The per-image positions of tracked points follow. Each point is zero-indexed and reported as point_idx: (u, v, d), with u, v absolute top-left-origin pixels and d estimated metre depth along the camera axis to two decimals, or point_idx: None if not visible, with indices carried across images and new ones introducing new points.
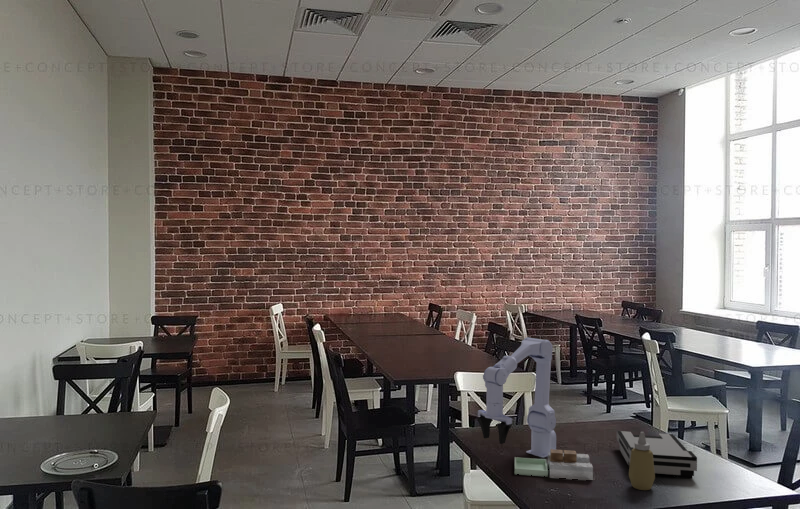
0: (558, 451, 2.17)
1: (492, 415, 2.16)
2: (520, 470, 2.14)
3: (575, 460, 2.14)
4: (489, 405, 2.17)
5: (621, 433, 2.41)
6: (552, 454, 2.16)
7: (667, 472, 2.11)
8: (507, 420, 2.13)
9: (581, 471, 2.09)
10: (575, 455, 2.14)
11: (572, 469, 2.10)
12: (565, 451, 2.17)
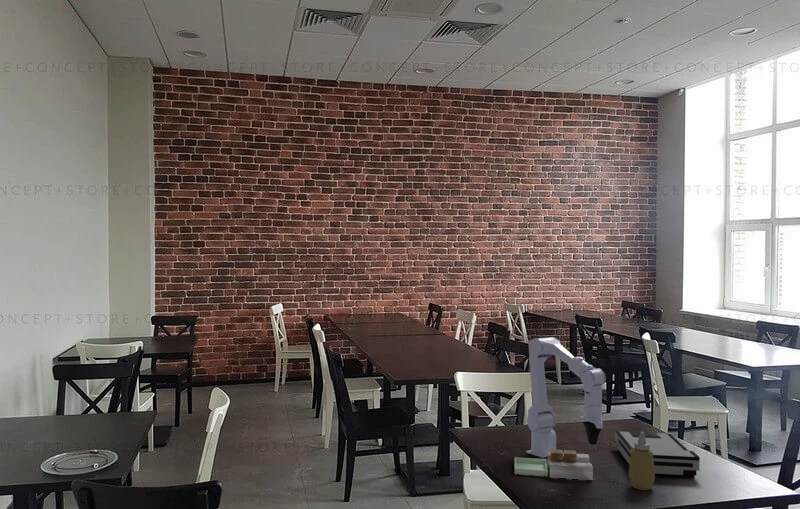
0: (558, 451, 2.17)
1: (586, 417, 2.14)
2: (520, 470, 2.14)
3: (575, 460, 2.14)
4: (585, 406, 2.15)
5: (620, 433, 2.41)
6: (552, 454, 2.16)
7: (670, 472, 2.11)
8: (596, 424, 2.08)
9: (581, 471, 2.09)
10: (575, 455, 2.14)
11: (572, 469, 2.10)
12: (565, 451, 2.17)
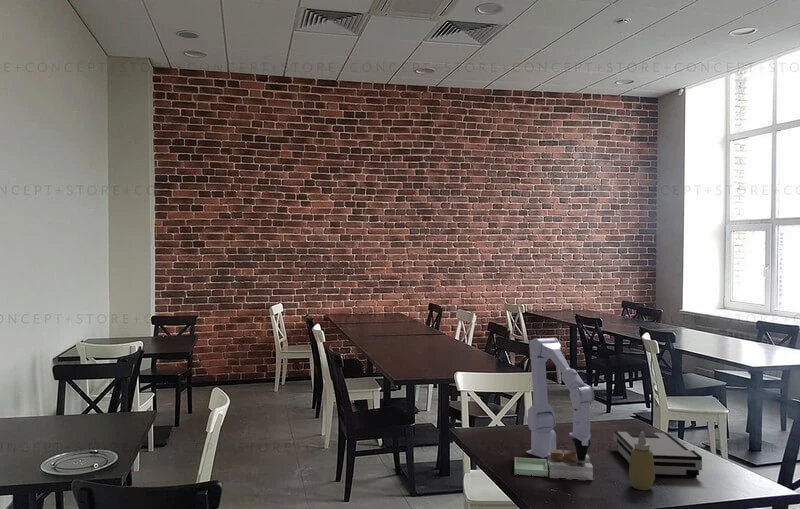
0: (558, 451, 2.17)
1: (574, 433, 2.15)
2: (520, 470, 2.14)
3: (575, 460, 2.14)
4: (573, 423, 2.16)
5: (618, 434, 2.40)
6: (552, 454, 2.16)
7: (673, 472, 2.11)
8: (582, 441, 2.09)
9: (581, 471, 2.09)
10: (575, 455, 2.14)
11: (572, 469, 2.10)
12: (565, 451, 2.17)
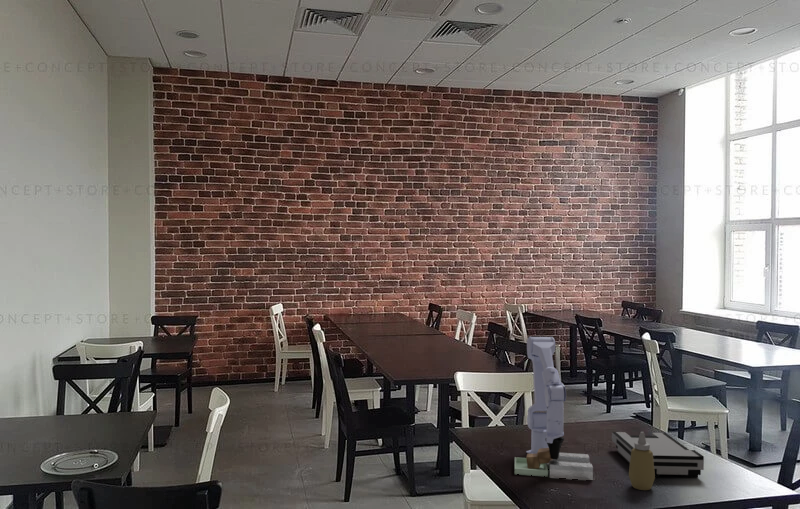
0: None
1: (546, 431, 2.18)
2: (520, 470, 2.14)
3: (548, 457, 2.17)
4: None
5: (617, 434, 2.40)
6: (529, 467, 2.18)
7: (675, 472, 2.11)
8: None
9: (581, 471, 2.09)
10: (547, 452, 2.17)
11: (572, 469, 2.10)
12: (539, 450, 2.20)
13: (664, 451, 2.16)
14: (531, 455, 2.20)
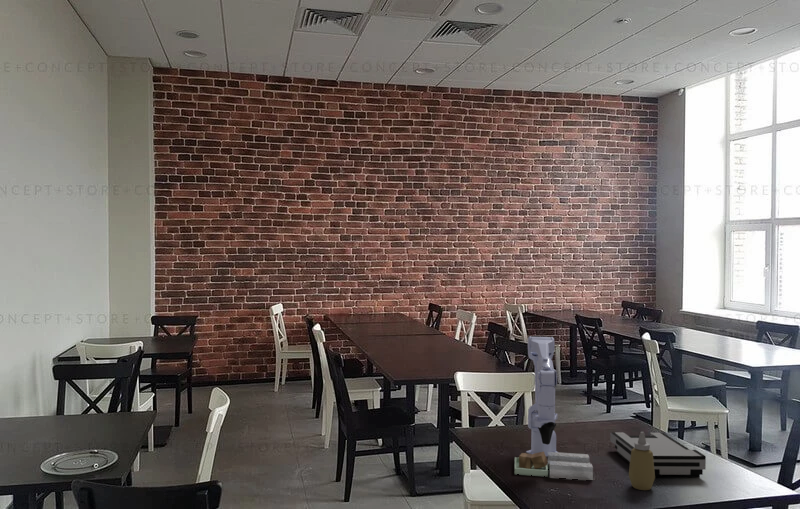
0: None
1: (538, 416, 2.19)
2: (520, 470, 2.14)
3: (542, 461, 2.16)
4: None
5: (616, 434, 2.40)
6: (520, 466, 2.19)
7: (678, 472, 2.11)
8: (535, 422, 2.13)
9: (581, 471, 2.09)
10: (540, 457, 2.17)
11: (572, 469, 2.10)
12: (533, 455, 2.20)
13: (666, 451, 2.16)
14: (524, 455, 2.21)
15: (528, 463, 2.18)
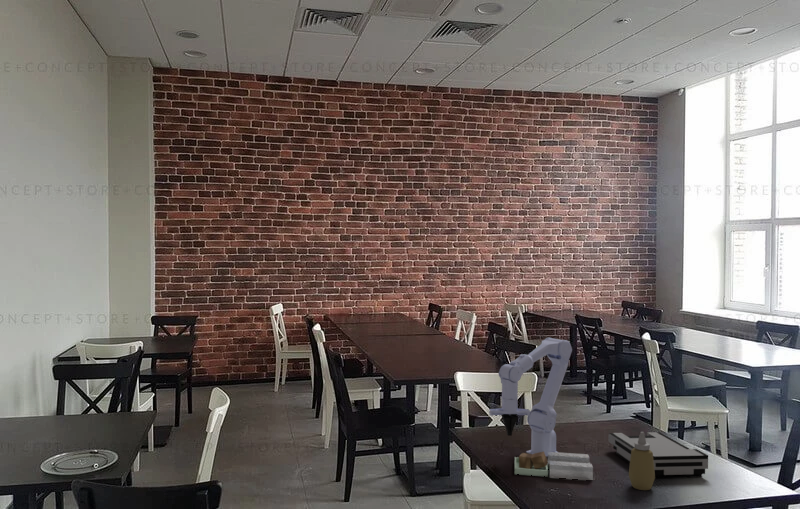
0: None
1: None
2: (520, 470, 2.14)
3: (542, 461, 2.16)
4: None
5: (615, 435, 2.39)
6: (520, 466, 2.19)
7: (682, 472, 2.11)
8: None
9: (581, 471, 2.09)
10: (540, 457, 2.17)
11: (572, 469, 2.10)
12: (533, 455, 2.20)
13: (669, 451, 2.16)
14: (524, 455, 2.21)
15: (528, 463, 2.18)
